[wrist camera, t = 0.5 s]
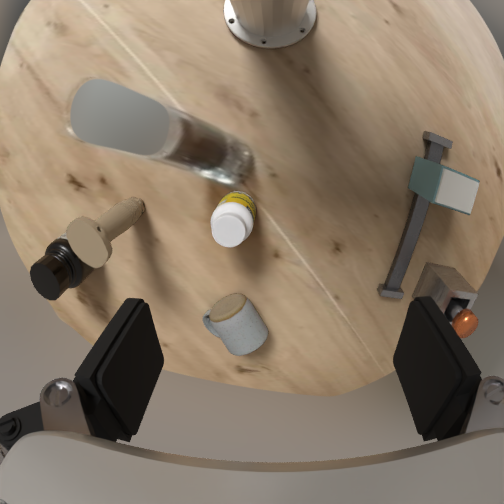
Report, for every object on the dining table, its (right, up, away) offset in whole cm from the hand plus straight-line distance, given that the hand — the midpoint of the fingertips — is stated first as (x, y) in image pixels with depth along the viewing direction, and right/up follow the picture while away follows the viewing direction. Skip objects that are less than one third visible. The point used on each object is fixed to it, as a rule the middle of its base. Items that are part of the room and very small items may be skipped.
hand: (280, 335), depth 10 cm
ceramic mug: (-4, -8, +42) cm, 43 cm away
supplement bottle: (-3, +9, +33) cm, 35 cm away
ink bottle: (-32, +3, +39) cm, 50 cm away
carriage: (+26, +14, +29) cm, 41 cm away
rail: (+25, +8, +32) cm, 41 cm away
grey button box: (+32, -3, +36) cm, 48 cm away
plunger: (+32, -5, +31) cm, 45 cm away
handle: (-19, +10, +34) cm, 40 cm away
